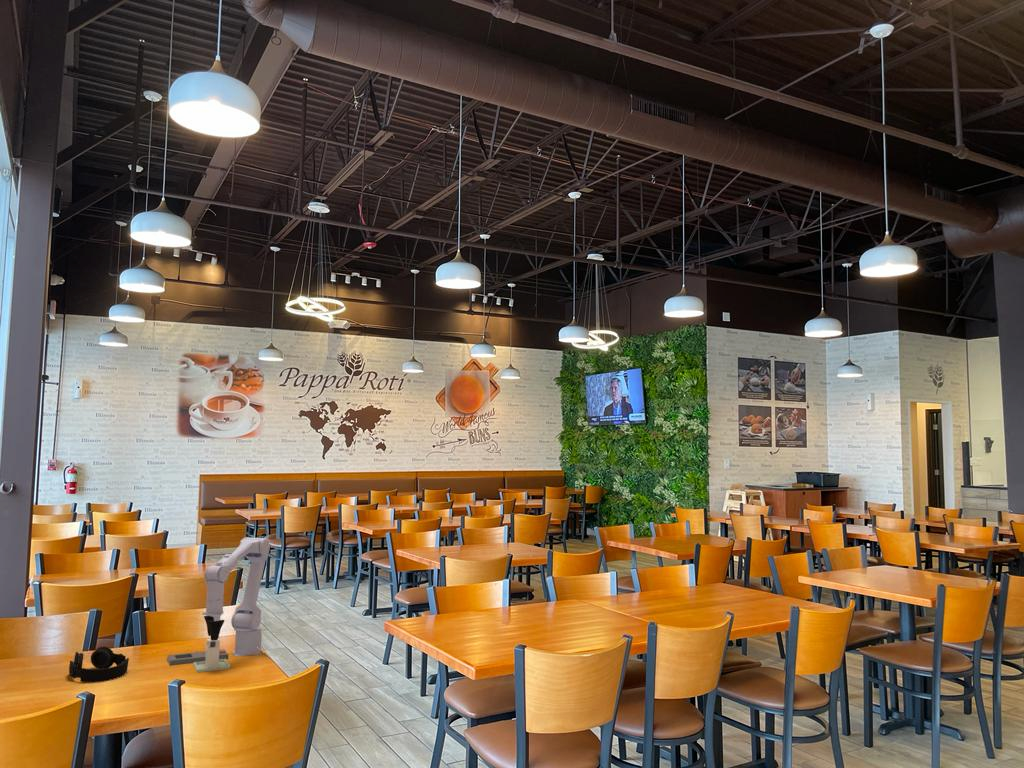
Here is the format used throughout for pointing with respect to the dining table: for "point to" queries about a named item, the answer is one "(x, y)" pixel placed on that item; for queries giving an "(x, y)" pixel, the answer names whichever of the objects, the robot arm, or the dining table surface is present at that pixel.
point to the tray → (201, 668)
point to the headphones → (99, 666)
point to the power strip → (194, 655)
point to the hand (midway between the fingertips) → (212, 637)
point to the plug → (212, 655)
